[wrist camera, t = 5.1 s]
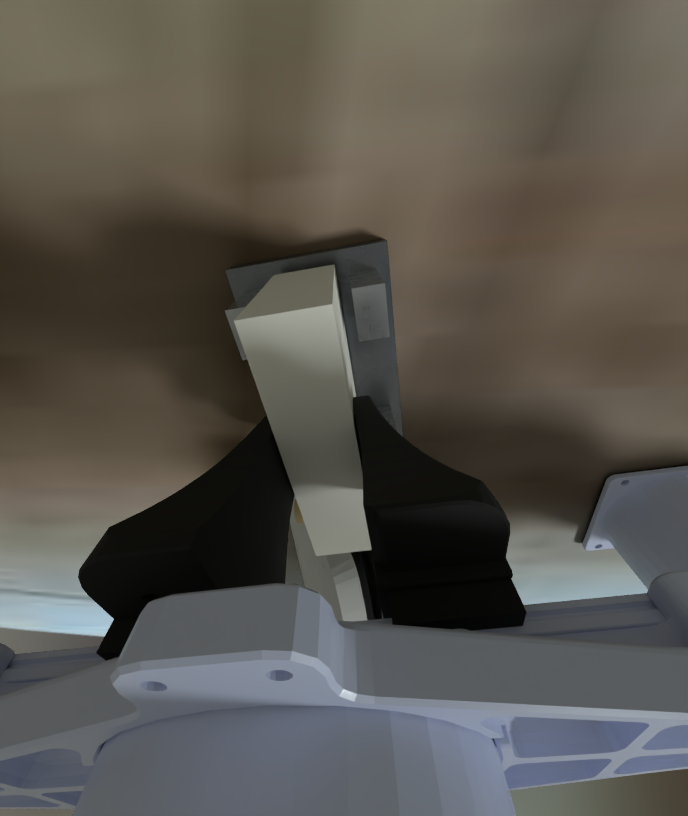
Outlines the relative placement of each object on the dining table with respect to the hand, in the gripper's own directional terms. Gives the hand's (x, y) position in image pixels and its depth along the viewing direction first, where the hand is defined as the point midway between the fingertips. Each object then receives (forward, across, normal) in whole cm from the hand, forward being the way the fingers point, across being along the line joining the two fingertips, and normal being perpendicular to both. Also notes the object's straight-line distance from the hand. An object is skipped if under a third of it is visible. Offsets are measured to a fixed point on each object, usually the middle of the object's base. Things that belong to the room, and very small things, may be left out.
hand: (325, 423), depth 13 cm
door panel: (+4, 0, 0) cm, 4 cm away
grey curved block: (+6, +2, +15) cm, 16 cm away
